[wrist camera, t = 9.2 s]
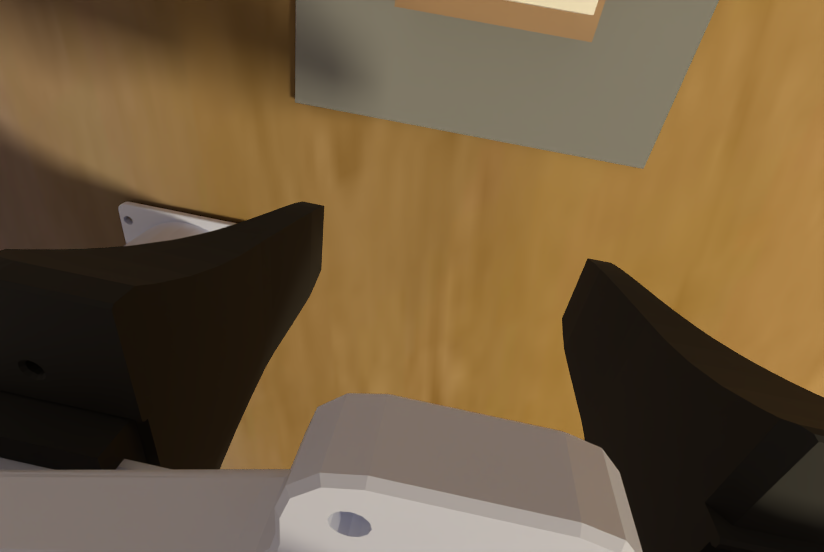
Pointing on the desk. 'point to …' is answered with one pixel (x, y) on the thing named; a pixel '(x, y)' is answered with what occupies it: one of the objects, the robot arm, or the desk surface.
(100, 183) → the desk surface
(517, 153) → the desk surface
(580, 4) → the white slab
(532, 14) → the walnut slab
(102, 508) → the robot arm
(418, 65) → the mat
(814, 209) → the desk surface
